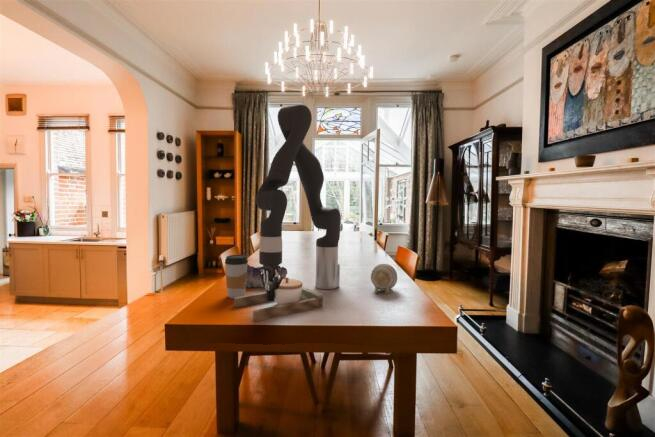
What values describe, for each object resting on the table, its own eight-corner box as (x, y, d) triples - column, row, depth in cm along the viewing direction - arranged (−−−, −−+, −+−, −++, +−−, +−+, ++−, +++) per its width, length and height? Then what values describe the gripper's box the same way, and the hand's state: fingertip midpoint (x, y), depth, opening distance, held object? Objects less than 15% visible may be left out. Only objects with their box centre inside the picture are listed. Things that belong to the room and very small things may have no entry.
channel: (297, 294, 127) (297, 284, 127) (322, 306, 114) (323, 294, 113) (234, 306, 112) (234, 294, 112) (255, 321, 99) (255, 308, 99)
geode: (237, 291, 131) (236, 265, 132) (239, 287, 143) (238, 263, 143) (288, 287, 135) (287, 262, 136) (286, 283, 146) (285, 260, 147)
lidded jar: (276, 311, 108) (277, 282, 107) (266, 301, 117) (267, 275, 117) (306, 307, 113) (307, 279, 112) (294, 298, 122) (295, 273, 122)
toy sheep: (367, 295, 128) (368, 266, 127) (373, 284, 144) (374, 259, 143) (395, 297, 125) (396, 268, 124) (398, 286, 141) (399, 260, 140)
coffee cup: (241, 300, 119) (241, 259, 118) (220, 298, 121) (220, 257, 120) (251, 293, 127) (251, 255, 126) (231, 292, 129) (231, 254, 128)
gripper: (290, 251, 107) (289, 304, 108) (271, 246, 118) (271, 294, 119) (269, 253, 102) (269, 308, 103) (252, 247, 113) (251, 297, 114)
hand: (270, 300), depth 111 cm, fingers closed
